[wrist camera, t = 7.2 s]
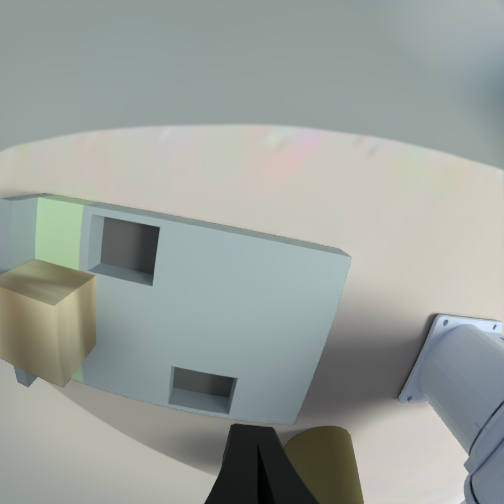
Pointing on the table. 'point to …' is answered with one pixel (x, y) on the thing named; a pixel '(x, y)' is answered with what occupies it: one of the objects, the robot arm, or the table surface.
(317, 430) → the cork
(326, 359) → the table surface
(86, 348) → the beech block
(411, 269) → the table surface
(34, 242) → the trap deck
